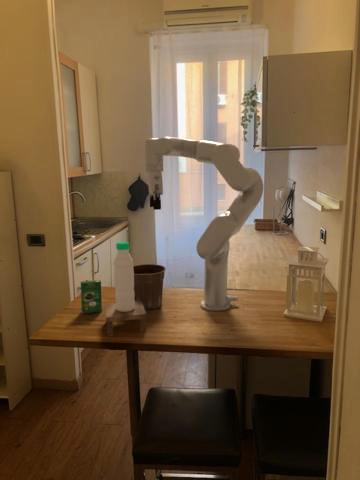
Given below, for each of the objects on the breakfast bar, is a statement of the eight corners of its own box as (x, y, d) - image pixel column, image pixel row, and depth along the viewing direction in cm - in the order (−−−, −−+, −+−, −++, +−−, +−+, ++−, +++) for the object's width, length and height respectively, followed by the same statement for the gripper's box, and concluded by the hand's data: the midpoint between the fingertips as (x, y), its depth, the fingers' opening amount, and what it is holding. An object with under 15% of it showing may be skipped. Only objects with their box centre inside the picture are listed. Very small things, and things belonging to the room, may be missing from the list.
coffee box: (101, 309, 159) (100, 279, 156) (102, 311, 156) (101, 281, 154) (81, 312, 156) (79, 281, 154) (82, 314, 153) (80, 283, 151)
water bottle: (117, 305, 144) (114, 240, 139) (136, 305, 144) (134, 240, 139) (114, 312, 137) (111, 244, 132) (133, 312, 137) (131, 244, 132)
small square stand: (141, 317, 150) (141, 300, 149) (146, 332, 137) (146, 313, 136) (105, 320, 147) (104, 303, 146) (107, 336, 134) (106, 317, 132)
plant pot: (121, 310, 158) (120, 272, 155) (137, 297, 173) (136, 262, 170) (158, 314, 153) (157, 275, 150) (171, 300, 168) (170, 265, 165)
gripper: (167, 168, 155) (167, 210, 159) (159, 167, 172) (160, 205, 175) (148, 168, 154) (149, 210, 157) (143, 168, 170) (144, 206, 173)
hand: (155, 208), depth 166 cm, fingers open, 9 cm apart
